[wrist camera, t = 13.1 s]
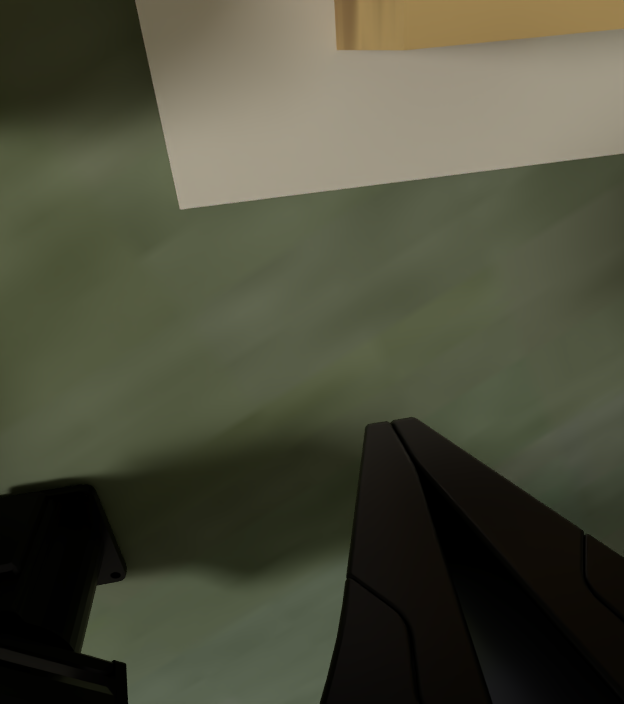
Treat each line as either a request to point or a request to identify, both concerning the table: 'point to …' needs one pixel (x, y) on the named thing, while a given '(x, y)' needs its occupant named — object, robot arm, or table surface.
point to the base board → (363, 101)
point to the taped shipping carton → (465, 21)
